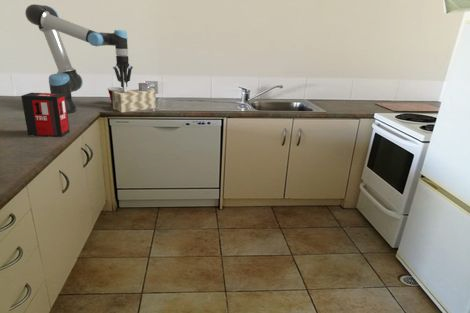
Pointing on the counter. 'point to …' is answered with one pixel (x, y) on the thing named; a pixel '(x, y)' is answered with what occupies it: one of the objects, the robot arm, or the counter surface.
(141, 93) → the collar block
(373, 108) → the counter surface
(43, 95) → the cleaning product box
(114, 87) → the plastic cup
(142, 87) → the peg far
